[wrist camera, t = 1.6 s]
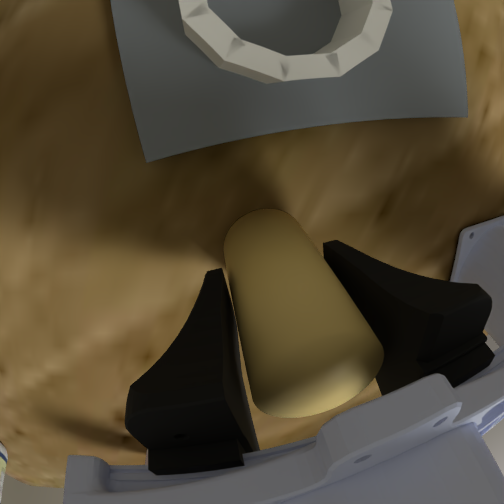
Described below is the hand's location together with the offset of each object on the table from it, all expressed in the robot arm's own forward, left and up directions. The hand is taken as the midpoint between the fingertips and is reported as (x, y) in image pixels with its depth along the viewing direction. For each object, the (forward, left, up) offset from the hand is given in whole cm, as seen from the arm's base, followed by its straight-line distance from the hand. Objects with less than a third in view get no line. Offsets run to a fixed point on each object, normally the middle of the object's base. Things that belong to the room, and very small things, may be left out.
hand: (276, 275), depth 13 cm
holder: (-4, -11, -2) cm, 12 cm away
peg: (0, 0, -2) cm, 2 cm away
